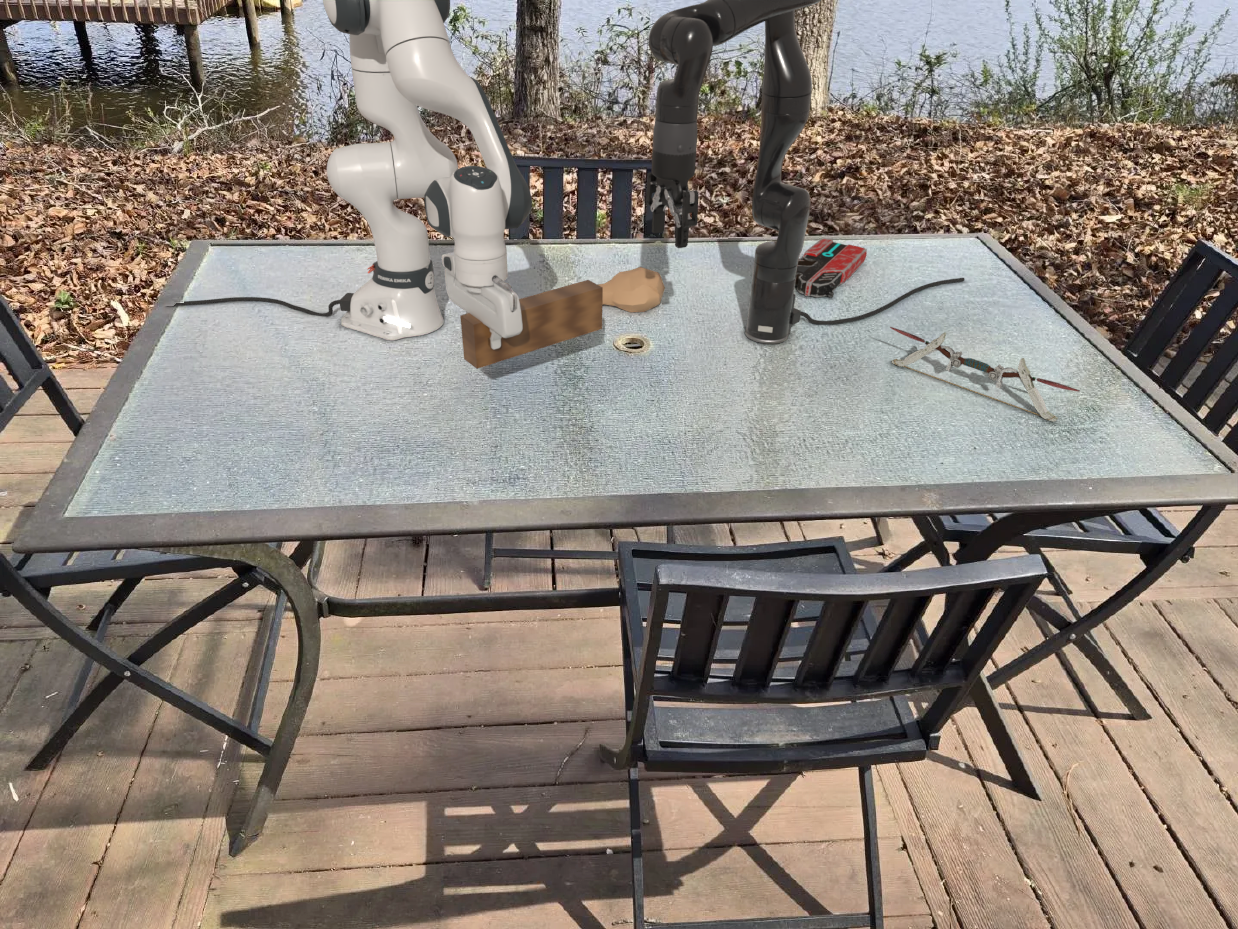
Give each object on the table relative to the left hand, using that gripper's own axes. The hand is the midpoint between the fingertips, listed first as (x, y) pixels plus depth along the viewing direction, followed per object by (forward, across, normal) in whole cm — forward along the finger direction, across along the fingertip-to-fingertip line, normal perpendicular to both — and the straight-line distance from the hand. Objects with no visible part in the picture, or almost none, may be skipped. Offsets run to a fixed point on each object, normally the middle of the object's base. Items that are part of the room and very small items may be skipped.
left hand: (485, 340), depth 157 cm
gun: (+15, +11, -104) cm, 105 cm away
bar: (+3, 0, -10) cm, 11 cm away
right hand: (-16, -11, -33) cm, 38 cm away
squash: (+15, +23, -50) cm, 57 cm away
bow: (+14, -49, -82) cm, 96 cm away
